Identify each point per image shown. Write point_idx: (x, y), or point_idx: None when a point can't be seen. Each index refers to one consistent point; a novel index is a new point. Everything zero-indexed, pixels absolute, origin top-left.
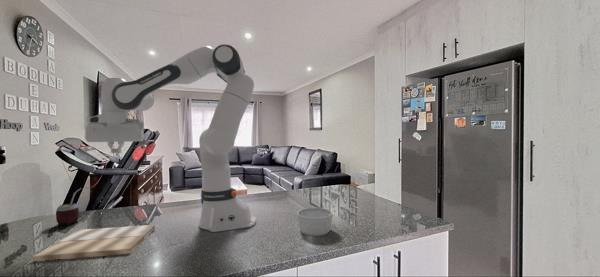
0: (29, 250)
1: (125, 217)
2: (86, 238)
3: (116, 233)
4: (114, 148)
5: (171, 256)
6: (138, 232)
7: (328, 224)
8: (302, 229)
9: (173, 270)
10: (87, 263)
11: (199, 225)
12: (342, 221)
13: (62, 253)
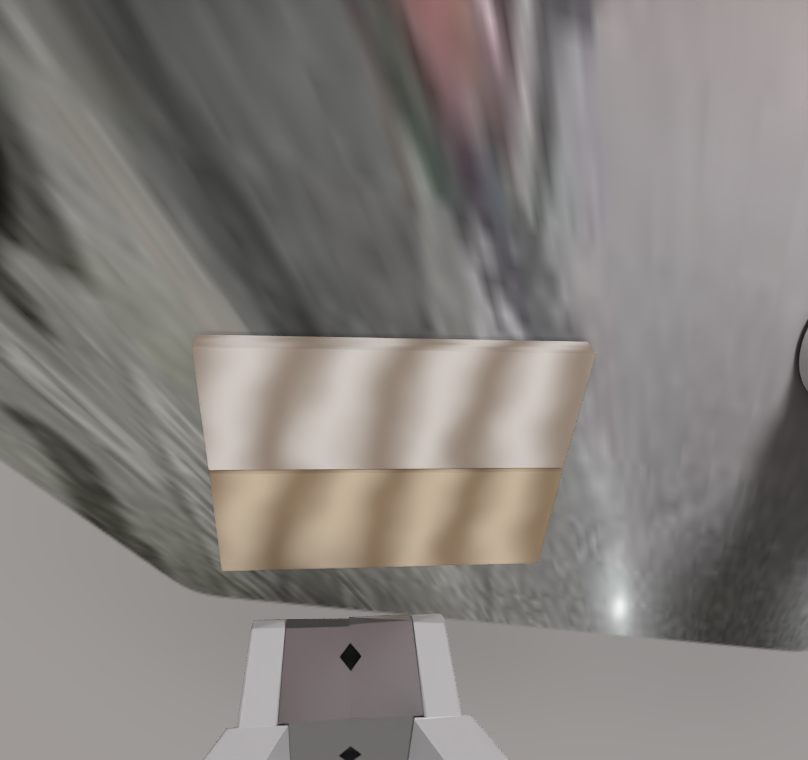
0: (111, 470)
1: (320, 4)
2: (318, 458)
3: (432, 429)
4: (288, 746)
5: (658, 578)
6: (532, 434)
7: None
8: None
9: (660, 635)
10: (419, 583)
11: (805, 365)
12: None
13: (315, 565)
